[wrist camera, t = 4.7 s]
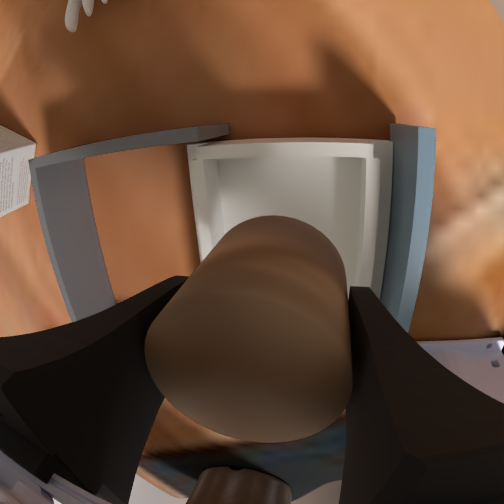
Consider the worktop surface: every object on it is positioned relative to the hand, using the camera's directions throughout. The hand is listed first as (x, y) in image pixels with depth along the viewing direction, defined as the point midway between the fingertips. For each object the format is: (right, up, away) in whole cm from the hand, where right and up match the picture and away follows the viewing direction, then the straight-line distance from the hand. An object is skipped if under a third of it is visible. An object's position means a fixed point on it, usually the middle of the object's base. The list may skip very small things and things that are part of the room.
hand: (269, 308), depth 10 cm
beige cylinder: (0, +1, +1) cm, 2 cm away
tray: (+2, +1, +8) cm, 8 cm away
